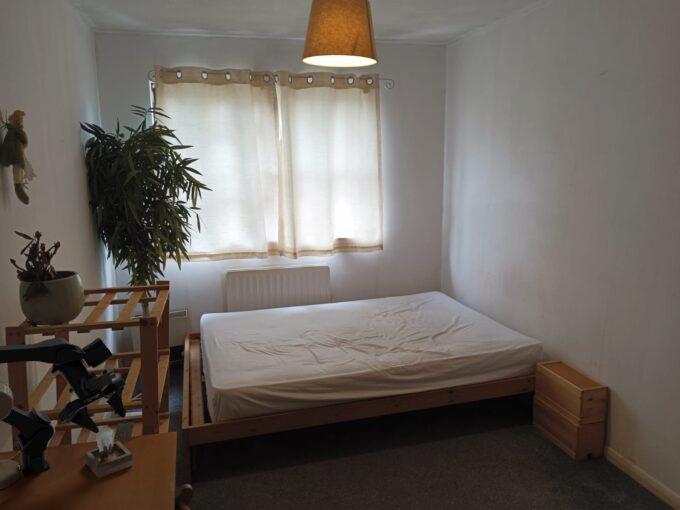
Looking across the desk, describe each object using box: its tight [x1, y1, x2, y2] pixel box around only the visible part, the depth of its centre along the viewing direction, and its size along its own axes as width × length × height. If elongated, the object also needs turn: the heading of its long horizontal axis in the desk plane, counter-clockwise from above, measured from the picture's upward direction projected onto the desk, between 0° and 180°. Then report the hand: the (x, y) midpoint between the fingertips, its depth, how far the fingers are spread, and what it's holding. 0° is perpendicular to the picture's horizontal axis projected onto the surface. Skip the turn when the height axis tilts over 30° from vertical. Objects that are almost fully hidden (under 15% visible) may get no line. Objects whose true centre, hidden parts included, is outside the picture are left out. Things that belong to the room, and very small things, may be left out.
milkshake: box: [95, 427, 116, 463], centre depth 145 cm, size 4×5×10 cm
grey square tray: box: [85, 440, 133, 479], centre depth 146 cm, size 9×9×4 cm
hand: (111, 424), depth 144 cm, fingers open, 9 cm apart
